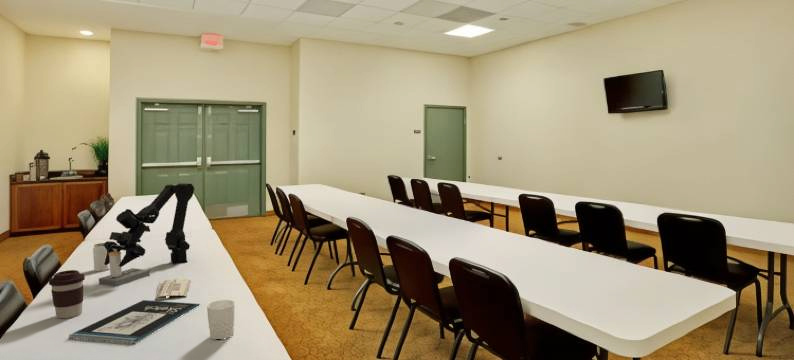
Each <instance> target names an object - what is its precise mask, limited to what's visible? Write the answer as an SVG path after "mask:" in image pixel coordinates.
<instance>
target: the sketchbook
mask: <svg viewBox="0 0 794 360" xmlns="http://www.w3.org/2000/svg"><path fill="white" fill-rule="evenodd" d="M199 305H200V303H191V302H190V303H189V302H177V301H176V302H174V301H161V300H147V299H143V300H141V301H138V302H136V303H134V304H132V305H130V306H128V307H126V308H123V309H121V310H119V311H117V312H114V313H112V314H111V315H109V316H106V317H103V318H102V319H100V320H98V321H96V322H93V323H92V324H89V325H88V326H85V327H83V328H81V329H79V330H76V331H74V332H72V333H71V334H68V340H69V339H71V340H73V339H74V338H75V339H74V341H78V340H79V341H81V340H82V341H83V342H84V341H86V342H90V341H92V342H94V343H95V342H96V343H98V342H99V343H102V342H103V343H105V342H107V343H108V341H110V342H109V344H113V343H114V344H116V343H118V345H127V344H129V345H130V344H131V345H130V346H132V345H133V344H132V343H137V344H139V343H140V342H142V341H144V340H145V339H147V338H148V337H147V336H149V335H150V336H152V335H153V334H152V333H154V332H155V331H157V330H158V329H160V328H162V327H164V326H165V325H167V324H169V323H170V322H172V321H173V322H175V321H176V320H175V319H177V318H178V317H180V316H181V315H183V314H185V313H187V312H188V313H190V312H191V311H190V310H192V309H193V310H195V309H197V308H198V307H199ZM197 306H198V307H197ZM200 306H201V305H200ZM196 307H197V308H196ZM194 308H195V309H194ZM193 310H192V311H193ZM189 311H190V312H189ZM188 313H187V314H188ZM185 315H186V314H185ZM183 316H184V315H183ZM180 318H181V317H180ZM178 319H179V318H178ZM178 319H177V320H178ZM174 320H175V321H174ZM173 322H172V323H173ZM170 324H171V323H170ZM170 324H169V325H170ZM167 326H168V325H167ZM165 327H166V326H165ZM165 327H164V328H165ZM162 329H163V328H162ZM160 330H161V329H160ZM157 332H158V331H157ZM155 333H156V332H155ZM155 333H154V334H155ZM151 334H152V335H151ZM150 336H149V337H150ZM146 337H147V338H146ZM72 338H73V339H72ZM76 338H78V339H76ZM144 338H145V339H144ZM84 339H86V340H84ZM87 339H89V340H87ZM143 339H144V340H143ZM95 340H97V341H95ZM98 340H99V341H98ZM141 340H142V341H141ZM111 341H113V342H111ZM119 342H121V343H120V344H119ZM122 342H124V343H122ZM138 342H139V343H138Z"/></svg>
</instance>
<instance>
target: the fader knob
mask: <svg viewBox="0 0 794 360" xmlns="http://www.w3.org/2000/svg"><path fill="white" fill-rule="evenodd" d="M121 254H122V252H121V251H120V252H116V251H114V252H110V253H109V259H110V269H109V271H110V273H109V275H111V276H112V277H118V276H121V275H122V271H123V270H122V267H120V266H119V265H120V263H121V261H122V258H121V257H122V255H121Z"/></svg>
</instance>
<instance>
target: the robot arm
mask: <svg viewBox="0 0 794 360" xmlns="http://www.w3.org/2000/svg"><path fill="white" fill-rule="evenodd" d="M194 192H195V187H194V185H193V184H192V183H187V182H186V183H180V182H179V183H178V184H166V185H164V188H163V190H161V192H160V193H159V194H158V195H157V196H156V197H155V199H154V200H152V201H151V203H150V204H149V205H147V206H144V207H143V208H141V210H139V211H138V213H134V212H133V210H132V209H130V208H129V209H128V208H126V209H125V211H122V212H121V213H119V214H117V216H116V218H115V220H116V222H117V223H119V224H120V225H121V226H122V227H124V228H125V229H127V230H128V231H122V232H118V231H117V232H114V231H111V233H110V235H109V238H108V239H109V240H110V241H109V240H108V241H105V242H103V243H104V245H103V246H104V247H105V249H107V256H106V259H105V263H104V264H105V265H108V264H109V263H110V259H109V253H110V252H114V251H116V252H121V251H125V255H124V256H123V257H122V258H121V263H120V265H119V266H120V267H121V268H122V267H124V266H126V265H127V264H128V263H130V262H132V261H134V260H136V259H137V258H140V257H144V256H145V254H146V249H145V248H144V247H143V246H142V245H141V244H139V243H141V242H142V240H141V238H142V236H143V234H145V232H146V233H147V232H148V233H149V232H151V229H150V225H146V224H154V223H156V220H157V219H158V218H159V216H160V211H161V210H162V209H163V207H164V206H165V205H166V203H168V202H169V200H171V198H172V197H173V195H175V198H176V206H175V212H174V216H173V223H172V227H171V229H170V231H167V232H166V233H165V239H164V241H165V245H166V247H167V249H168V251H171V252H170V262H171V263H172V265H175V264H182V263H188V258H187V251H188V250H190V246H191V245H190V243H188V242H187V241H186V234H185V232H184V226H185V220H186V216H187V215H186V214H187V211H188V204H189V202H190V200H191V199H192V197H193V195H194ZM111 240H113V241H111Z"/></svg>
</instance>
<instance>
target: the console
mask: <svg viewBox="0 0 794 360" xmlns="http://www.w3.org/2000/svg"><path fill="white" fill-rule="evenodd" d="M121 271H122V275H121V276H118V277H112V276H111V275H110V274H109V275H105V276H102V277H100V278H98V284H99V285H103V286H104V285H105V286H112V287H120V286H122V285H125V284H128V283H132V282H135V281H137V280H140V279H144V278H146V277H150V269H141V268H133V267H132V268H129V269H125V270H121Z"/></svg>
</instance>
